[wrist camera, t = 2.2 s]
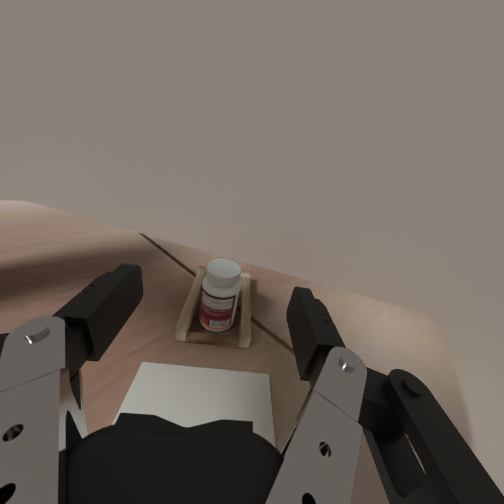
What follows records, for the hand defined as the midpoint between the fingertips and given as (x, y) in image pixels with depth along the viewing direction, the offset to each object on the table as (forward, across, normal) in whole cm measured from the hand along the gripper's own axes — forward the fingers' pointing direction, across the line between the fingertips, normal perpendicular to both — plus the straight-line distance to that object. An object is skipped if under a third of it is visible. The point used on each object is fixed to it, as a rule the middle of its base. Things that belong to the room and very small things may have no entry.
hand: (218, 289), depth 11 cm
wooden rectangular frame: (+14, 0, +14) cm, 20 cm away
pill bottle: (+12, 0, +14) cm, 18 cm away
